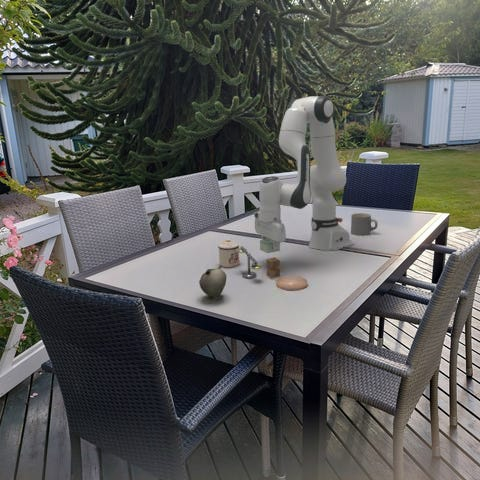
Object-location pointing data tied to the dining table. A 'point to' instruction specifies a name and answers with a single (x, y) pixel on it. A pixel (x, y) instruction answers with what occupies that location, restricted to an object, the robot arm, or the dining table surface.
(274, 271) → the block
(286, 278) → the saucer
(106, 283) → the dining table surface
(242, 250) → the balance
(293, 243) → the dining table surface
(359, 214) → the coffee mug
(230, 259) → the teacup with lid
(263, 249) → the cover
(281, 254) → the dining table surface
